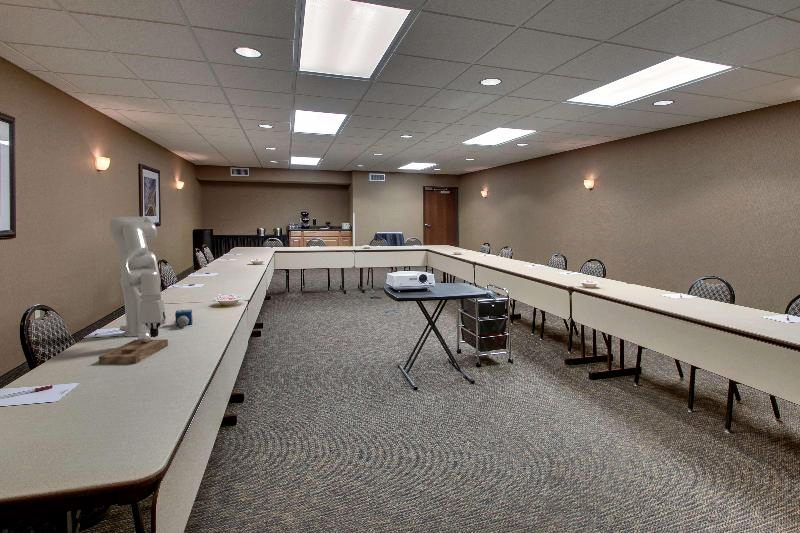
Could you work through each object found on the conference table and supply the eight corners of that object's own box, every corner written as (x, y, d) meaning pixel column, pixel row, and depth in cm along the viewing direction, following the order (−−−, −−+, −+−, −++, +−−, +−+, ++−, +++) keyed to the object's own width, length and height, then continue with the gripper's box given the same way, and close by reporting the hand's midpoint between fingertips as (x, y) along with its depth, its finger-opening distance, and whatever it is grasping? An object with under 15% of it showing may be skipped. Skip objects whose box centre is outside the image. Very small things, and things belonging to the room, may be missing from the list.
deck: (99, 363, 173) (98, 356, 172) (135, 346, 197) (135, 339, 196) (136, 363, 173) (135, 356, 172) (168, 345, 197) (167, 339, 196)
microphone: (193, 305, 250) (190, 314, 227) (193, 318, 251) (191, 328, 228) (178, 306, 247) (173, 315, 224) (179, 319, 248) (174, 330, 225)
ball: (135, 344, 189) (135, 333, 188) (142, 341, 194) (141, 330, 193) (147, 344, 189) (146, 333, 188) (153, 341, 194) (152, 330, 193)
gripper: (130, 299, 193) (133, 339, 195) (163, 299, 193) (166, 338, 195) (140, 296, 200) (143, 334, 202) (172, 296, 200) (174, 334, 202)
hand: (154, 336), depth 199 cm, fingers closed
